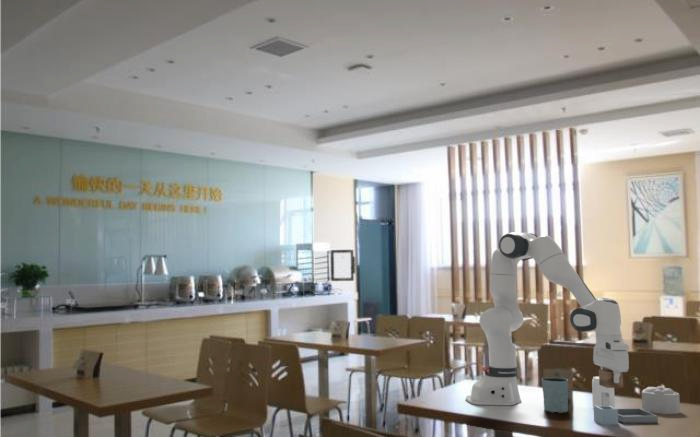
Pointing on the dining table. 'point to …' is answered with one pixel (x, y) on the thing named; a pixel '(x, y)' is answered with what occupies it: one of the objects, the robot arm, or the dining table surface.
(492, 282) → the robot arm
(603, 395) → the pin gauge
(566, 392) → the teal bin
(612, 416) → the blue block
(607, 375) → the walnut block
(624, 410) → the tray
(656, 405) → the lumpy-topped squat cylinder
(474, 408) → the dining table surface
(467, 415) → the dining table surface
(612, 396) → the white tall block
